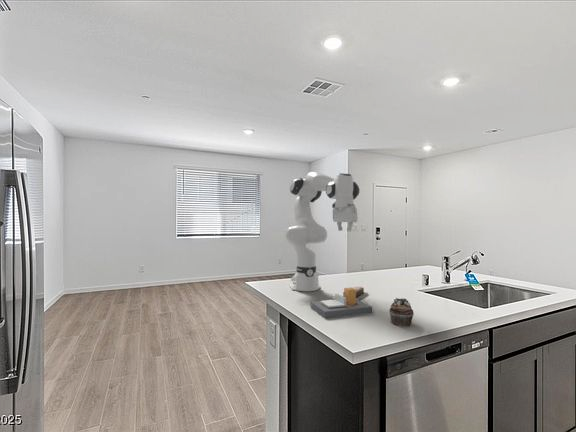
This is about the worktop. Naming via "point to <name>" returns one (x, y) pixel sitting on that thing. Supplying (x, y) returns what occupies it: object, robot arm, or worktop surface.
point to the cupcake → (401, 313)
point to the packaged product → (359, 293)
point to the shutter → (335, 302)
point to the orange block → (350, 296)
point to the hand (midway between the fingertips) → (344, 231)
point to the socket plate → (341, 309)
